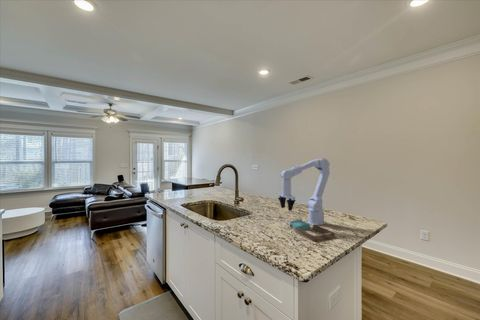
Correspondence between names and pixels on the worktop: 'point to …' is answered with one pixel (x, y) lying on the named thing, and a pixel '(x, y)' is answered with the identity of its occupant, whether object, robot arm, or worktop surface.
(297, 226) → the teal flat block
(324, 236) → the dock
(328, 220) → the worktop surface
